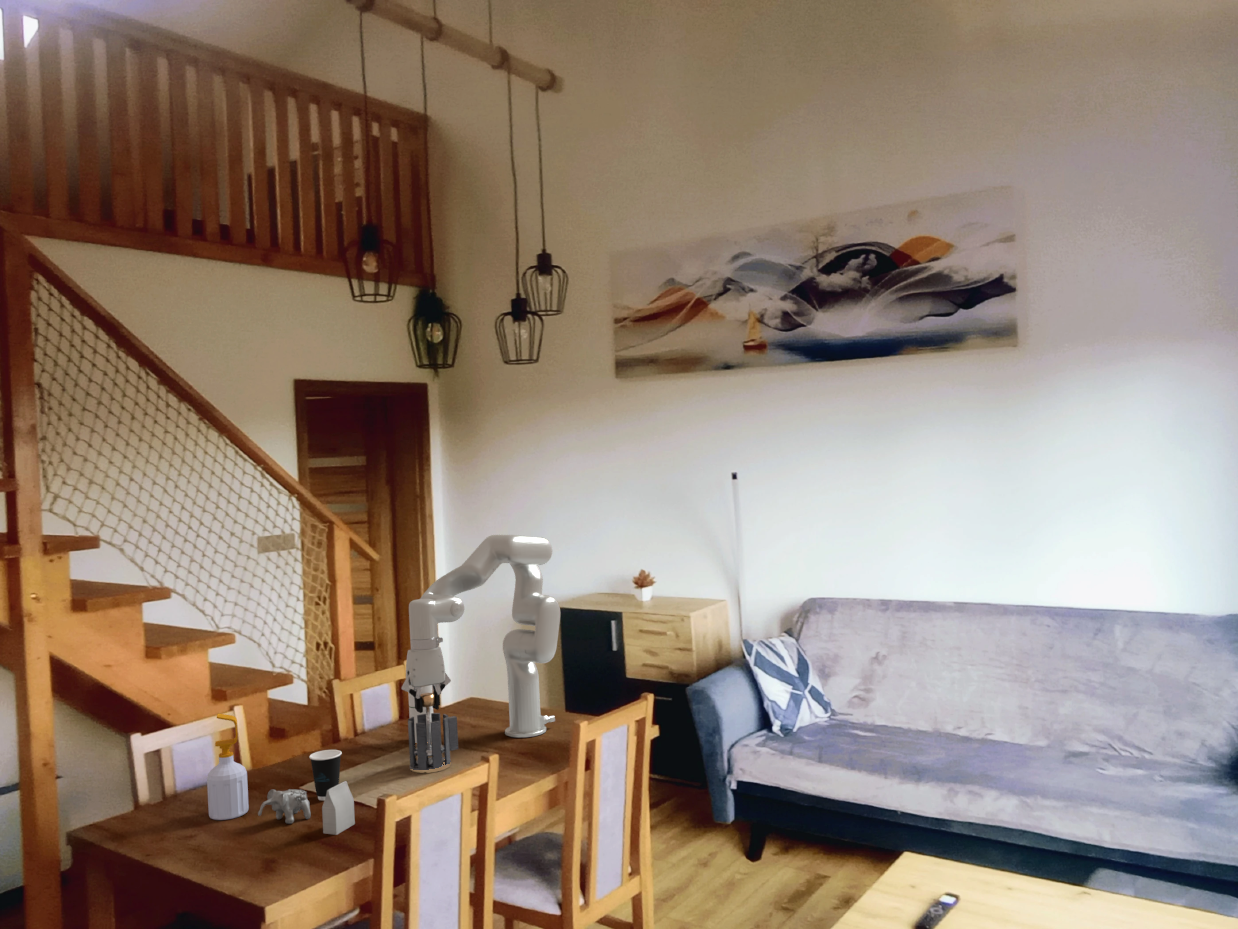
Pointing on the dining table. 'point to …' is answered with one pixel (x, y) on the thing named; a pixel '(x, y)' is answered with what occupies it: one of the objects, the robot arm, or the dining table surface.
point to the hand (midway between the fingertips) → (427, 709)
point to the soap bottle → (227, 782)
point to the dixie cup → (325, 770)
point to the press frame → (432, 741)
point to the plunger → (428, 720)
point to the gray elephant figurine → (287, 803)
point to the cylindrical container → (412, 710)
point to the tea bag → (338, 809)
